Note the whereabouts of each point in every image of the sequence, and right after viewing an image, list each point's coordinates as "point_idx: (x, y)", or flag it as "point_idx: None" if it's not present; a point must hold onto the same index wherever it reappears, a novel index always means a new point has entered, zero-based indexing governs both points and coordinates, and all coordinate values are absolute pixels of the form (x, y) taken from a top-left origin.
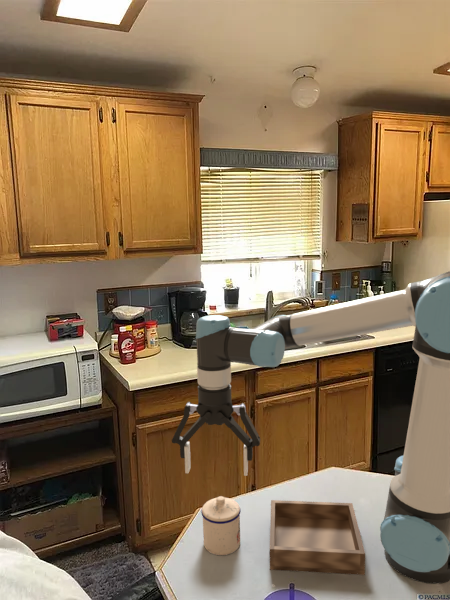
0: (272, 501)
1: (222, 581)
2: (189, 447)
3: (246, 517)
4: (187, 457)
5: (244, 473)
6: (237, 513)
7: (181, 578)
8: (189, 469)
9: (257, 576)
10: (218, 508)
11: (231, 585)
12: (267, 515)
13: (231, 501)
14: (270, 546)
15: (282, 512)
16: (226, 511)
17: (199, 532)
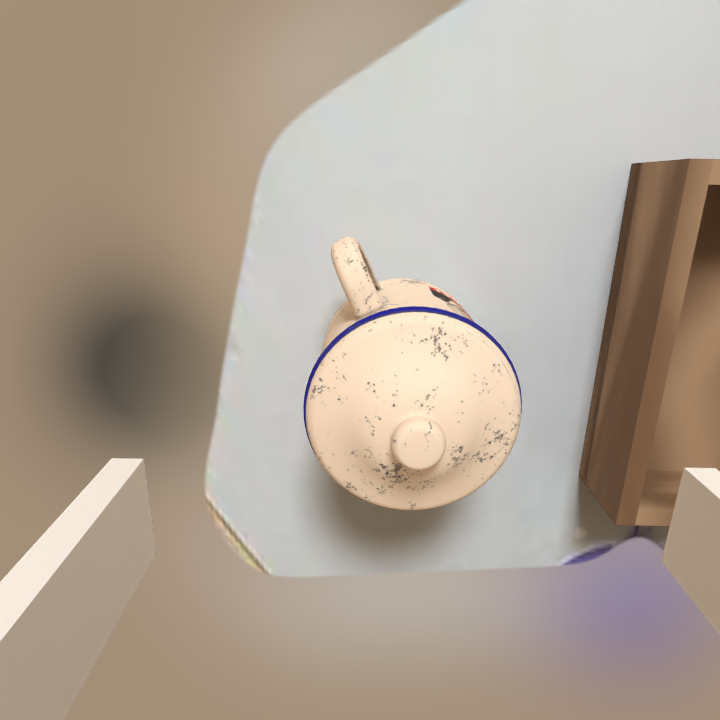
0: (695, 173)
1: (414, 527)
2: (3, 675)
3: (506, 163)
4: (69, 700)
5: (678, 575)
6: (507, 456)
7: (277, 522)
8: (146, 520)
9: (532, 503)
10: (407, 479)
11: (445, 540)
12: (615, 140)
13: (477, 383)
14: (621, 512)
15: (712, 185)
16: (450, 477)
17: (293, 288)
